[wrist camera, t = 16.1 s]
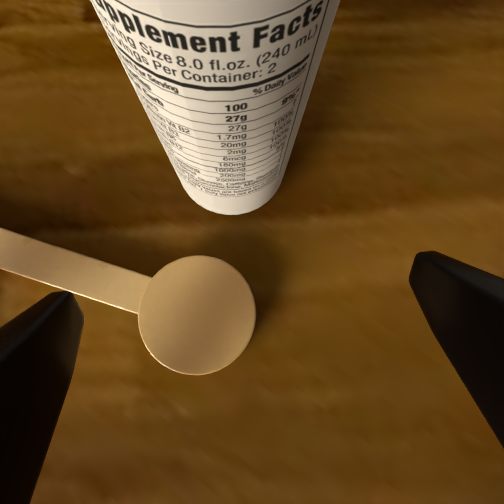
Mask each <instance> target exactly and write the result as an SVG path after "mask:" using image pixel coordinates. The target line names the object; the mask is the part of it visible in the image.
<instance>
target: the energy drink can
mask: <svg viewBox="0 0 504 504" xmlns="http://www.w3.org/2000/svg"><path fill="white" fill-rule="evenodd" d="M91 2H92V4H93V6H94V8H95V10H96V12H97V14H98V16H99V18H100V20H101V22H102V24H103V26H104V28H105V30H106V32H107V34H108V36H109V38H110V40H111V42H112V44H113V46H114V48H115V50H116V52H117V54H118V56H119V58H120V60H121V63H122V65H123V67H124V69H125V71H126V73H127V75H128V77H129V79H130V81H131V83H132V85H133V87H134V89H135V91H136V93H137V95H138V97H139V99H140V101H141V103H142V105H143V107H144V109H145V111H146V113H147V115H148V117H149V119H150V121H151V123H152V125H153V127H154V129H155V131H156V133H157V135H158V137H159V139H160V141H161V143H162V145H163V147H164V149H165V151H166V153H167V155H168V157H169V159H170V161H171V163H172V165H173V167H174V169H175V171H176V173H177V175H178V177H179V179H180V181H181V183H182V185H183V187H184V189H185V190H186V192H187V193H188V195H189V196H190V197H191V198H192V199H193V200H194V201H195V202H196V203H197V204H199V205H201V206H202V207H204V208H205V209H207V210H210V211H213V212H215V213H220V214H226V215H238V214H243V213H247V212H250V211H253V210H255V209H257V208H259V207H261V206H262V205H264V204H265V203H267V202H268V201H269V200H270V199H271V198H272V197H273V196H274V194H275V193H276V191H277V190H278V188H279V186H280V184H281V181H282V179H283V176H284V173H285V170H286V167H287V163H288V160H289V157H290V154H291V151H292V148H293V145H294V142H295V139H296V136H297V132H298V129H299V126H300V123H301V120H302V117H303V114H304V111H305V108H306V104H307V101H308V98H309V95H310V92H311V89H312V86H313V83H314V80H315V77H316V73H317V70H318V67H319V64H320V61H321V58H322V55H323V52H324V49H325V45H326V42H327V39H328V36H329V33H330V30H331V27H332V24H333V21H334V18H335V14H336V11H337V8H338V5H339V2H340V0H91Z"/></svg>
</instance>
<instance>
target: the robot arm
mask: <svg viewBox="0 0 504 504" xmlns="http://www.w3.org/2000/svg"><path fill="white" fill-rule="evenodd" d="M409 283H410V286H411V288H412V290H413V292H414V294H415V296H416V299H417V301H418V303H419V305H420V307H421V309H422V311H423V313H424V315H425V317H426V320H427V322H428V324H429V326H430V328H431V330H432V332H433V334H434V335H435V337H436V339H437V340H438V342H439V344H440V345H441V347H442V349H443V350H444V352H445V354H446V355H447V357H448V358H449V360H450V362H451V363H452V365H453V367H454V368H455V370H456V371H457V373H458V375H459V376H460V378H461V380H462V381H463V383H464V385H465V386H466V388H467V389H468V391H469V393H470V394H471V396H472V398H473V399H474V401H475V402H476V404H477V406H478V407H479V409H480V411H481V412H482V414H483V415H484V417H485V419H486V420H487V422H488V424H489V425H490V427H491V429H492V430H493V432H494V433H495V435H496V437H497V438H498V440H499V442H500V443H501V445H502V446H503V448H504V279H503V278H500V277H498V276H495V275H493V274H490V273H488V272H485V271H483V270H480V269H478V268H476V267H473V266H471V265H468V264H466V263H463V262H461V261H458V260H456V259H453V258H451V257H448V256H446V255H444V254H441V253H439V252H436V251H426V252H419V253H418V254H417V255H416V256H415V259H414V262H413V265H412V268H411V272H410V275H409ZM83 325H84V315H83V312H82V310H81V308H80V307H79V305H78V303H77V301H76V299H75V297H74V295H73V294H72V293H71V292H70V291H60V292H52V293H50V294H48V295H47V296H45V297H44V298H43V299H41V300H40V301H38V302H37V303H35V304H34V305H32V306H31V307H30V308H28V309H27V310H25V311H24V312H22V313H21V314H19V315H18V316H17V317H15V318H14V319H12V320H11V321H9V322H8V323H6V324H5V325H3V326H2V327H1V328H0V504H30V501H31V498H32V495H33V492H34V489H35V486H36V483H37V480H38V477H39V474H40V471H41V468H42V465H43V462H44V460H45V457H46V454H47V451H48V448H49V445H50V442H51V439H52V436H53V433H54V430H55V427H56V424H57V421H58V418H59V415H60V412H61V409H62V406H63V403H64V400H65V397H66V394H67V391H68V388H69V385H70V382H71V378H72V375H73V371H74V366H75V362H76V357H77V352H78V348H79V343H80V339H81V334H82V329H83Z"/></svg>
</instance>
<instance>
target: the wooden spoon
mask: <svg viewBox="0 0 504 504" xmlns="http://www.w3.org/2000/svg"><path fill="white" fill-rule="evenodd" d="M0 269H3V270H6V271H9V272H12V273H15V274H18V275H21V276H24V277H27V278H30V279H33V280H36V281H39V282H42V283H45V284H48V285H51V286H54V287H57V288H60V289H63V290H66V291H70V292H72V293H75V294H78V295H81V296H84V297H87V298H90V299H93V300H96V301H99V302H102V303H105V304H108V305H111V306H115V307H118V308H121V309H124V310H127V311H130V312H133V313H136V314H138V323H139V329H140V334H141V337H142V339H143V342H144V344H145V346H146V348H147V349H148V351H149V352H150V353H151V355H152V356H153V357H154V358H155V359H156V360H157V361H158V362H160V363H161V364H162V365H164V366H165V367H167V368H169V369H171V370H173V371H175V372H178V373H182V374H188V375H203V374H209V373H212V372H215V371H218V370H220V369H222V368H224V367H226V366H227V365H229V364H231V363H232V362H233V361H234V360H235V359H237V358H238V356H239V355H240V354H241V353H242V352H243V351H244V349H245V348H246V346H247V345H248V343H249V341H250V339H251V337H252V334H253V331H254V327H255V322H256V305H255V299H254V296H253V293H252V290H251V288H250V286H249V284H248V282H247V281H246V279H245V278H244V277H243V275H242V274H241V273H240V272H239V271H238V270H237V269H236V268H234V267H233V266H232V265H230V264H228V263H227V262H225V261H223V260H220V259H218V258H215V257H211V256H203V255H194V256H187V257H183V258H180V259H177V260H175V261H173V262H171V263H169V264H167V265H166V266H164V267H163V268H162V269H160V270H159V271H158V272H157V273H156V274H155V275H154V276H153V277H150V276H147V275H144V274H141V273H138V272H135V271H132V270H129V269H126V268H123V267H119V266H116V265H113V264H110V263H107V262H104V261H101V260H98V259H95V258H92V257H89V256H86V255H83V254H80V253H77V252H74V251H71V250H68V249H65V248H62V247H59V246H56V245H52V244H49V243H46V242H43V241H40V240H37V239H34V238H31V237H28V236H25V235H22V234H19V233H16V232H13V231H10V230H7V229H4V228H1V227H0Z"/></svg>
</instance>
